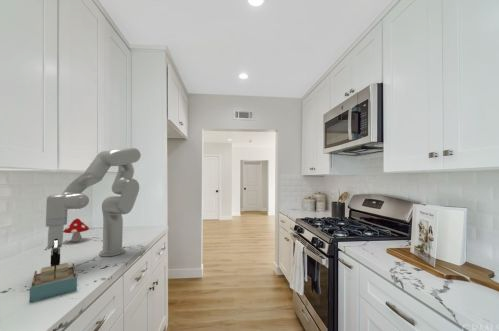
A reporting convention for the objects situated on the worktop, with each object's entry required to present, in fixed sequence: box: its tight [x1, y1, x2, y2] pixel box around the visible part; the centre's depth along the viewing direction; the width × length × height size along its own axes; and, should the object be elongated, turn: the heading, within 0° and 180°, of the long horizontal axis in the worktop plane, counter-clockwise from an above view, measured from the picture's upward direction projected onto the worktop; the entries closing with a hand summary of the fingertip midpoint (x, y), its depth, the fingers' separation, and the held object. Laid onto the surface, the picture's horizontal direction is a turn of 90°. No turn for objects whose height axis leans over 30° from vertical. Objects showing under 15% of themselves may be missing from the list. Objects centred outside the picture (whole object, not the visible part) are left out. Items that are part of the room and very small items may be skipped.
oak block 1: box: [40, 266, 54, 282], centre depth 93 cm, size 4×4×4 cm
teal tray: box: [29, 276, 78, 303], centre depth 86 cm, size 8×13×5 cm, turn 130°
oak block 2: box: [56, 263, 70, 279], centre depth 95 cm, size 4×4×4 cm
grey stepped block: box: [43, 248, 69, 271], centre depth 104 cm, size 3×9×10 cm, turn 130°
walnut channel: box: [31, 263, 77, 287], centre depth 95 cm, size 14×13×4 cm
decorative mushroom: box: [63, 218, 90, 243], centre depth 153 cm, size 14×14×15 cm
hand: (55, 261), depth 104 cm, fingers open, 7 cm apart
